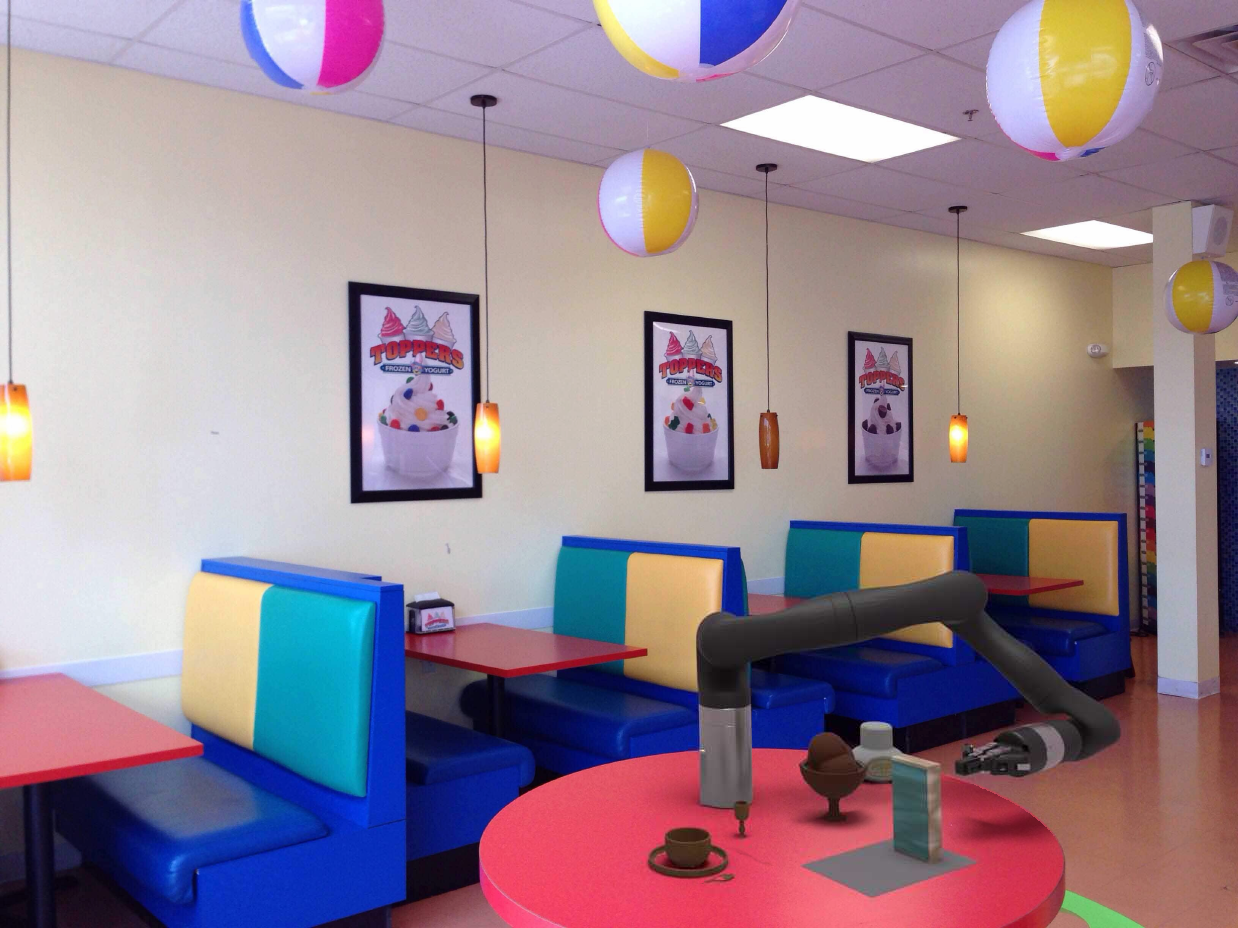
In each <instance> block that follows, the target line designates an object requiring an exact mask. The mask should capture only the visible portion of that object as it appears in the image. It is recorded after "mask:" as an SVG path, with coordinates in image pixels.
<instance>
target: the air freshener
mask: <svg viewBox="0 0 1238 928" xmlns="http://www.w3.org/2000/svg"><path fill="white" fill-rule="evenodd" d="M859 729H860V734H859V735H860V745H857V746H856V747H854V748H853V749H852V752H853V753H854V758H855V760H860V761H861V762H863V763H864V764H865V765H866V766H868V767H867V772H866V776H865V778H864V780H866V781H868V782H869V781H870V782H873V783H888V782H890V781H891V782H892V757H891V756H896V755H900V754H904V753H903V752H902V751H901V750H899V749H898V748H896V747H895V746H893V744H894V743H893V726H892V725H891V724H890V723H887V722H883V721H882V722H881V721H866V722H865V721H864V722H862V723H861V725H860V727H859Z"/></svg>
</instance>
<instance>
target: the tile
mask: <svg viewBox="0 0 1238 928" xmlns="http://www.w3.org/2000/svg"><path fill="white" fill-rule="evenodd" d="M891 757H892V780H891V790H892V791H891V792H892V793H891V795H892V797H891V798H892V831H893V832H892V833H893V834H892V836H893V837H892V838H893V842H894V850H896V851H899V852H902V853H904V854H907V855H909V856H912V857H914V858H917V859H920V860H922V861H925V862H927V863H930V864H931V863H934V862H937V861H940V860H942V848H943V829H942V826H943V825H942V824H943V823H942V791H941V789H942V785H941V781H942V780H941V779H942V778H941V764H940V763H938V762H933V761H930V760H927V759H925V758H920V757H917V756H913V755H908V754H906V753H903V754H900V755H896V756H891Z"/></svg>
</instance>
